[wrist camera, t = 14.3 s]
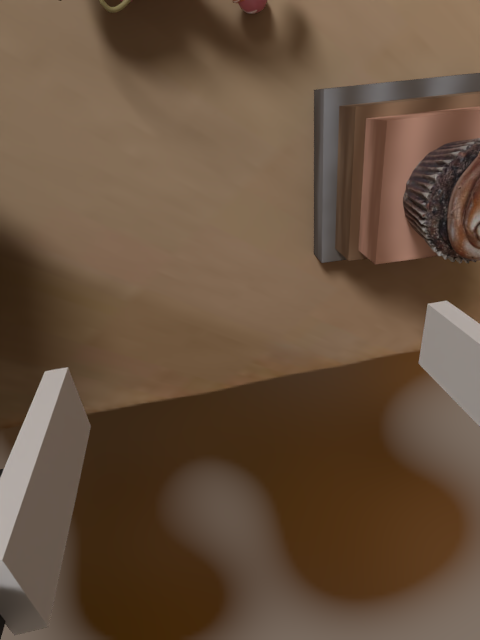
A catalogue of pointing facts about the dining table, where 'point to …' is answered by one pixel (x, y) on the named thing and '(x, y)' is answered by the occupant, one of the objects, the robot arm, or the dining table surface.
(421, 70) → the dining table surface
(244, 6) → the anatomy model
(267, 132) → the dining table surface
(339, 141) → the stepped pyramid block
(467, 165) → the cupcake
